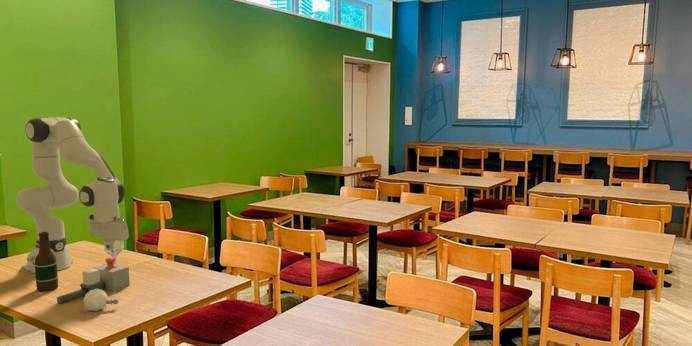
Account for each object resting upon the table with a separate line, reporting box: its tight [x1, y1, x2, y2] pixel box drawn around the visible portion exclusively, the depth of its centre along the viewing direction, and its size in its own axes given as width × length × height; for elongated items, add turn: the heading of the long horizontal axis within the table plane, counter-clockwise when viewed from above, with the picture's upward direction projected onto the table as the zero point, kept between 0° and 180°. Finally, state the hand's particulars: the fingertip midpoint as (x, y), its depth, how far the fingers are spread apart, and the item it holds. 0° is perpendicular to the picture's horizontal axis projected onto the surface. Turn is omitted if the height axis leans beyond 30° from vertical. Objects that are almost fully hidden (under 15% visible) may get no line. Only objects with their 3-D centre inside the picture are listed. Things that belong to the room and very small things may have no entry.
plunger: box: [105, 256, 115, 269], centre depth 211 cm, size 4×4×9 cm
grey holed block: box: [92, 263, 131, 292], centre depth 211 cm, size 12×8×8 cm, turn 63°
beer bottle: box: [34, 232, 59, 293], centre depth 206 cm, size 8×8×24 cm
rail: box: [56, 283, 106, 305], centre depth 199 cm, size 2×19×2 cm, turn 153°
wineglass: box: [103, 240, 125, 264], centre depth 227 cm, size 8×8×18 cm
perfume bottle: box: [83, 289, 119, 312], centre depth 186 cm, size 8×8×12 cm
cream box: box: [79, 268, 104, 292], centre depth 203 cm, size 6×6×9 cm
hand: (109, 248), depth 209 cm, fingers closed
